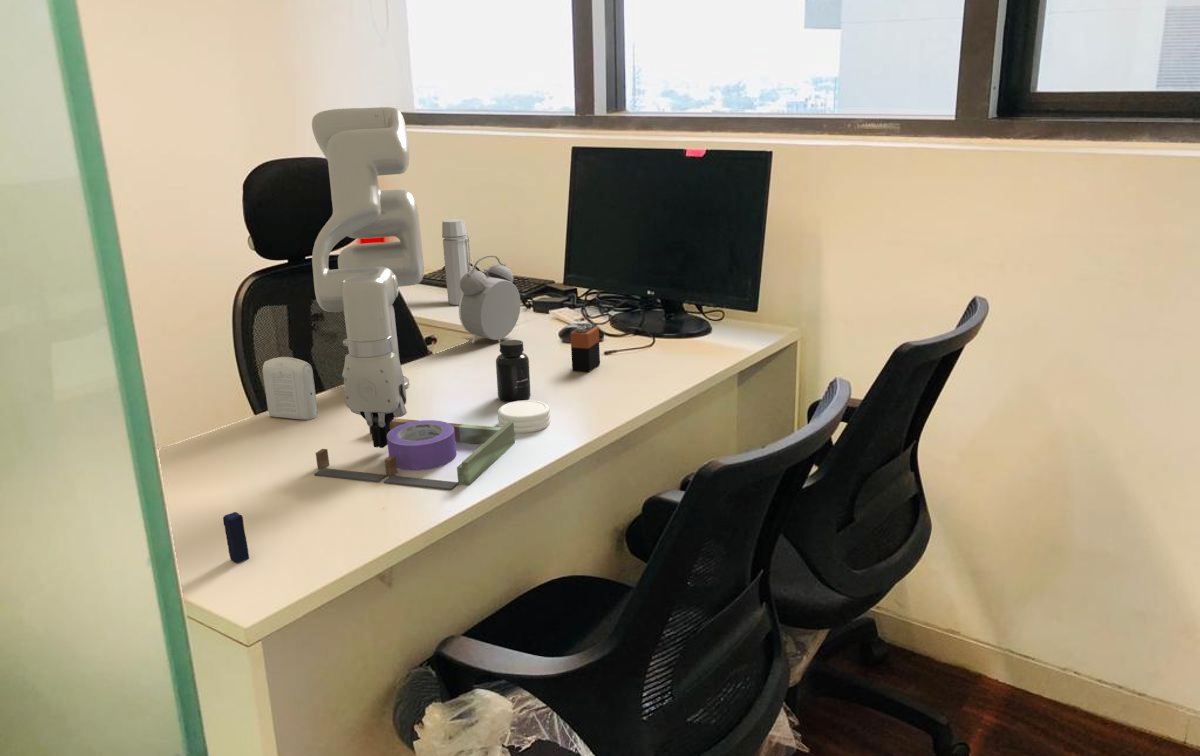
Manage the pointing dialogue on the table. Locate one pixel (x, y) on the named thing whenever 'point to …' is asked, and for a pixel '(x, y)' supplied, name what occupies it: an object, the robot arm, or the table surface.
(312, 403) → the photo printer
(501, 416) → the coaster
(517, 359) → the supplement bottle
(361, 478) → the mats
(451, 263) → the water bottle
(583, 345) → the battery
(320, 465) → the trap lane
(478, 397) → the table surface
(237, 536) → the eraser
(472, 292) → the alarm clock
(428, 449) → the tape roll
